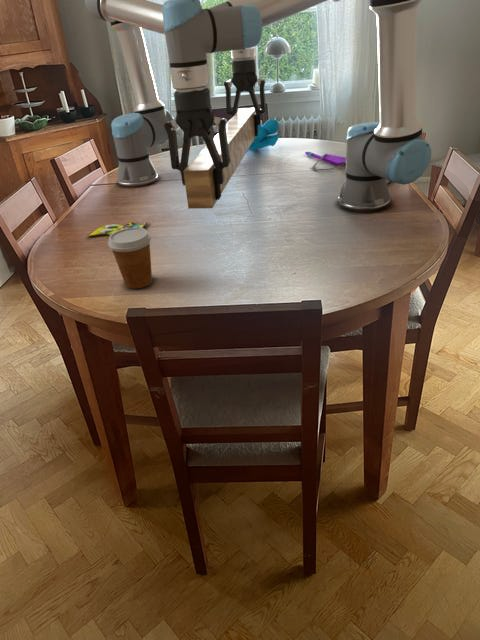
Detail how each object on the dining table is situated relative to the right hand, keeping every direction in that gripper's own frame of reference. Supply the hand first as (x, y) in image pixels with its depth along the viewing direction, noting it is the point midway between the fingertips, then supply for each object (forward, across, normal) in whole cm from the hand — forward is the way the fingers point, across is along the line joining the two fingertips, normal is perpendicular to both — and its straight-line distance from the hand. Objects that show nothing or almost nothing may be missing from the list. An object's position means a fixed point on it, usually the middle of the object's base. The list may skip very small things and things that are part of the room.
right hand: (205, 197), depth 111 cm
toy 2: (+17, -8, +108) cm, 109 cm away
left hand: (+1, 0, +65) cm, 65 cm away
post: (+1, 0, +32) cm, 32 cm away
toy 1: (+16, -33, +20) cm, 42 cm away
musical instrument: (+17, +26, +84) cm, 90 cm away
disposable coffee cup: (+16, -16, -12) cm, 25 cm away
